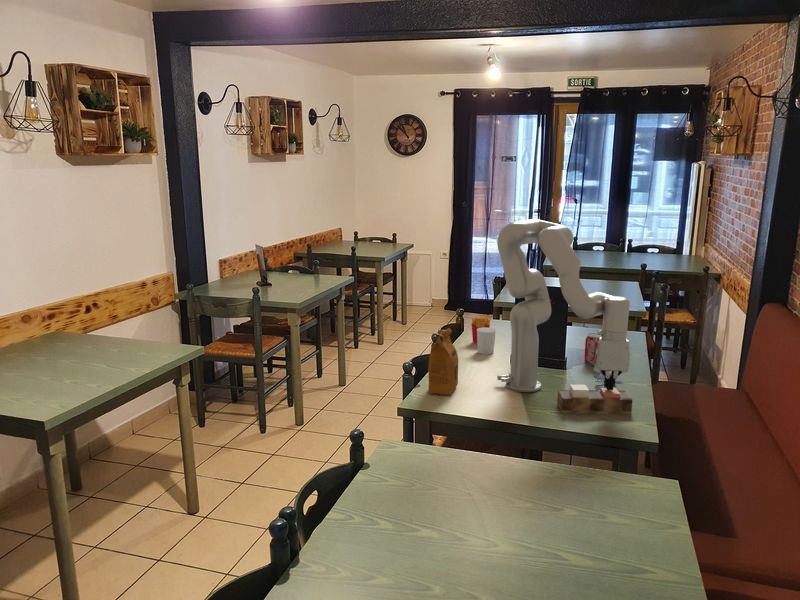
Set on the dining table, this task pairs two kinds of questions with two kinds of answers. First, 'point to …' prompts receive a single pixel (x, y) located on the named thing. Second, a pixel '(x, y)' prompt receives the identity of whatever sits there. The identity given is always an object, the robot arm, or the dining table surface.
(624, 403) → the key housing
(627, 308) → the robot arm
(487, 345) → the white cup
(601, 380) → the signage
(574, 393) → the cream key
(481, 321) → the french fries
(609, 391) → the red key
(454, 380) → the coffee package
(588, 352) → the soda can
